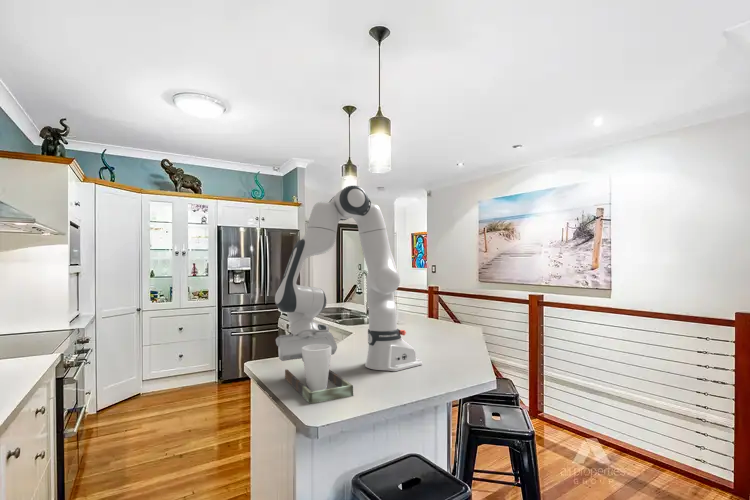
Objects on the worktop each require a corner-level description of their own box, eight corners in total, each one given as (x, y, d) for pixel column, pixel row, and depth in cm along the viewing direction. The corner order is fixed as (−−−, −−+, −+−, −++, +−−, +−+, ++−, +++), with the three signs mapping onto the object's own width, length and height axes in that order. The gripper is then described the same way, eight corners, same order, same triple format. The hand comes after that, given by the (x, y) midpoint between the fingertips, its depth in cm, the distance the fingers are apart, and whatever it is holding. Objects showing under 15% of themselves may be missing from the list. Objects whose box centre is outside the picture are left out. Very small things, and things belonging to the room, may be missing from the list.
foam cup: (333, 391, 118) (332, 349, 118) (303, 394, 116) (303, 351, 116) (329, 382, 127) (329, 343, 128) (301, 384, 125) (301, 345, 125)
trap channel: (321, 372, 139) (321, 364, 139) (353, 395, 114) (353, 385, 114) (285, 378, 132) (285, 369, 132) (309, 403, 107) (309, 393, 108)
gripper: (276, 330, 129) (283, 366, 120) (332, 325, 138) (342, 358, 129) (273, 341, 133) (279, 376, 124) (328, 335, 142) (338, 368, 133)
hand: (312, 367), depth 126 cm, fingers closed, pressing on foam cup
